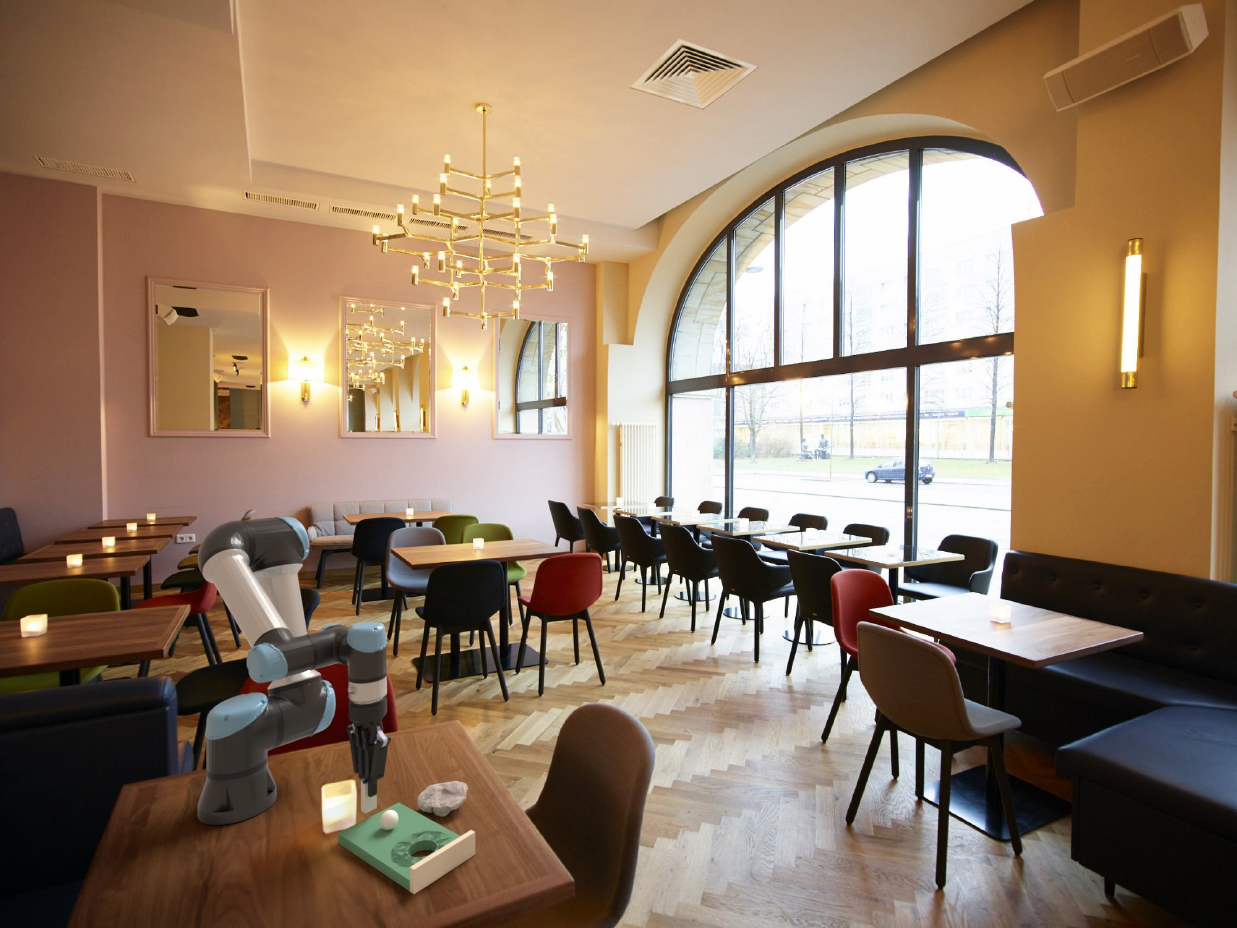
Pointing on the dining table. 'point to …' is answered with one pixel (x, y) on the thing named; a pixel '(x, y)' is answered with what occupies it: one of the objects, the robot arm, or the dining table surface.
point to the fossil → (442, 797)
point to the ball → (388, 819)
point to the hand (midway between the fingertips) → (369, 809)
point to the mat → (408, 847)
